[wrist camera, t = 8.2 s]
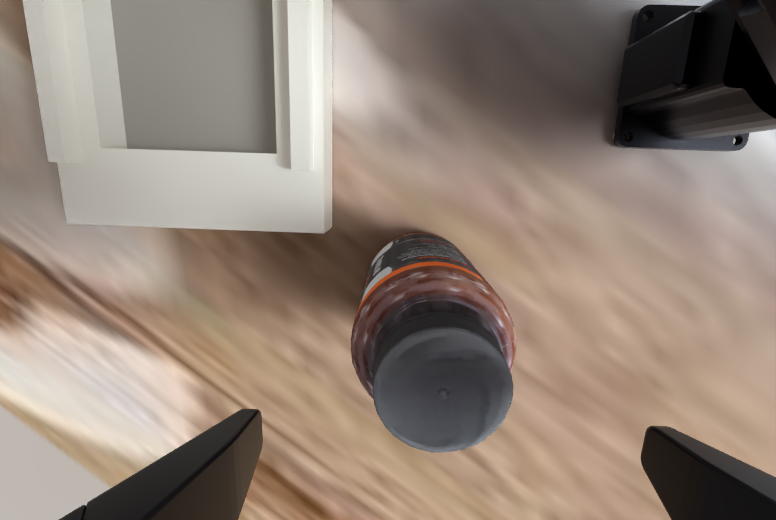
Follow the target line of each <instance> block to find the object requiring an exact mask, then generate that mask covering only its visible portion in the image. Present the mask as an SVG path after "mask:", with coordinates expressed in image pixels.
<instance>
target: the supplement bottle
mask: <svg viewBox="0 0 776 520" xmlns="http://www.w3.org/2000/svg"><path fill="white" fill-rule="evenodd" d="M351 354H352V363H353V366H354V368H355V370H356V373H357V375H358V377H359V380H360V382H361V384H362V385H363V387H364V388H365V390H366V391H367V392H368V394H369V395H370V396H371V397H372V398H373V399H374V404H375V407H376V411H377V413H378V415H379V417H380V419H381V420H382V422H383V424H384V425H385V427H386V428H387V429H388V430H389V431H390V432H391V433H392V434H393V435H394V436H395V437H397V438H398V439H400V440H401V441H403V442H404V443H406V444H407V445H409V446H411V447H414V448H417V449H420V450H424V451H429V452H451V451H457V450H464V449H466V448H468V447H471V446H474V445H476V444H478V443H480V442H481V441H483V440H485V439H486V438H487V437H488V436H489V435H491V434H492V433H493V432H494V431H495V430H496V429H497V428H498V427H499V425H500V424H501V423H502V422H503V420H504V419H505V417H506V414H507V412H508V410H509V408H510V405H511V401H512V396H513V382H512V376H511V371H512V368H513V364H514V360H515V355H516V335H515V330H514V325H513V322H512V319H511V317H510V314H509V312H508V310H507V308H506V306H505V304H504V302H503V301H502V299H501V298H500V297H499V296H498V294H497V293H496V292H495V291H494V289H493V288H492V287H491V286H490V285H489V284H488V282H487V281H486V280H485V279H484V278H483V277H482V275H481V274H480V273H479V272H478V271H477V270H476V269H475V267H474V266H473V265H472V264H471V262H470V261H469V260H468V259H467V258H466V257H465V256H464V255H463V254H462V253H461V252H460V250H459V249H458V248H457V247H456V246H454V245H453V244H452V243H451V242H450V241H448V240H446V239H444V238H442V237H440V236H437V235H433V234H429V233H410V234H406V235H403V236H400V237H398V238H396V239H394V240H392V241H391V242H389V243H388V244H387V245H385V246H384V247H383V248H382V249H381V250H380V251H379V252H378V254H377V255H376V257H375V258H374V260H373V262H372V264H371V265H370V268H369V270H368V274H367V277H366V281H365V284H364V288H363V292H362V296H361V299H360V302H359V306H358V308H357V313H356V317H355V321H354V325H353V329H352V337H351Z"/></svg>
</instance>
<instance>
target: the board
mask: <svg viewBox="0 0 776 520" xmlns="http://www.w3.org/2000/svg"><path fill="white" fill-rule="evenodd" d="M22 1H23V7H24V13H25V19H26V26H27V32H28V38H29V45H30V51H31V57H32V63H33V70H34V76H35V82H36V88H37V95H38V101H39V107H40V114H41V120H42V126H43V132H44V139H45V145H46V151H47V158H48V162H57V165H58V172H59V178H60V185H61V191H62V198H63V204H64V211H65V217H66V224H78V225H106V226H134V227H162V228H189V229H217V230H245V231H273V232H300V233H325V232H327V231H328V230H329V229H331V228H332V0H22Z"/></svg>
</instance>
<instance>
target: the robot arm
mask: <svg viewBox="0 0 776 520" xmlns="http://www.w3.org/2000/svg"><path fill="white" fill-rule="evenodd" d="M644 14H645V15H647V16H648V22H645V21H644V20H643V15H644ZM617 103H618V105H619V109H618V116H617V122H616V128H615V135H614V142H615V144H616V145H617V146H618V147H621V148H642V149H673V150H704V151H737V150H740V149H742V148H743V147H744V146H745V145H746V143H747V141H748V137H749V133H750V132H758V131H765V130H773V129H776V0H712V1H710V2H708V3H706V4H705V5H703V6H681V5H646V6H644V7H643V8H641V9H640V10H639V11H637V12H636V13H635V15H634V17H633V20H632V27H631V33H630V39H629V46H628V48H627V49H626V50H625V53H624V59H623V66H622V72H621V78H620V85H619V91H618V98H617ZM625 133H627V134H628V135H629V139H628V141H627V142H625V141H624V138H623V136H624V134H625ZM734 137H735V139H736V142H735V144H733V142H732V140H733V138H734ZM262 442H263V437H262V416H261V412H260V411H259V410H258V409H241V410H239V411H238V412H236V413H235V414H233V415H231V416H230V417H228V418H226V419H225V420H223V421H221V422H220V423H218V424H216V425H215V426H213V427H211V428H210V429H208V430H206V431H205V432H203V433H201V434H200V435H198V436H197V437H195V438H193V439H192V440H190V441H188V442H187V443H185V444H183V445H182V446H180V447H178V448H177V449H175V450H173V451H172V452H170V453H168V454H167V455H165V456H163V457H162V458H160V459H159V460H157V461H155V462H154V463H152V464H150V465H149V466H147V467H145V468H144V469H142V470H140V471H139V472H137V473H135V474H134V475H132V476H130V477H129V478H127V479H125V480H124V481H122V482H120V483H119V484H117V485H115V486H114V487H112V488H111V489H109V490H107V491H106V492H104V493H102V494H101V495H99V496H97V497H96V498H94V499H92V500H91V501H89V502H88V503H87V506H85V505H82V506H81V507H79V508H77V509H76V510H74V511H72V512H71V513H69V514H67V515H66V516H64V517H63V518H61V519H59V520H238V518H239V515H240V512H241V510H242V507H243V504H244V501H245V498H246V495H247V492H248V489H249V486H250V483H251V480H252V477H253V474H254V471H255V468H256V465H257V462H258V459H259V456H260V453H261V449H262ZM641 463H642V466H643V469H644V471H645V472H646V474H647V476H648V478H649V480H650V481H651V483H652V485H653V487H654V489H655V491H656V492H657V494H658V496H659V498H660V500H661V501H662V503H663V505H664V507H665V509H666V511H667V512H668V514H669V516H670V518H671V520H776V477H774V476H772V475H770V474H768V473H765V472H763V471H761V470H759V469H757V468H755V467H753V466H751V465H749V464H747V463H744V462H742V461H740V460H738V459H736V458H734V457H732V456H730V455H728V454H725V453H723V452H721V451H719V450H717V449H715V448H713V447H711V446H709V445H707V444H704V443H702V442H700V441H698V440H696V439H694V438H692V437H690V436H688V435H686V434H683V433H681V432H679V431H677V430H675V429H673V428H671V427H667V426H650V427H648V428H647V430H646V433H645V438H644V443H643V447H642V452H641Z"/></svg>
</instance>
